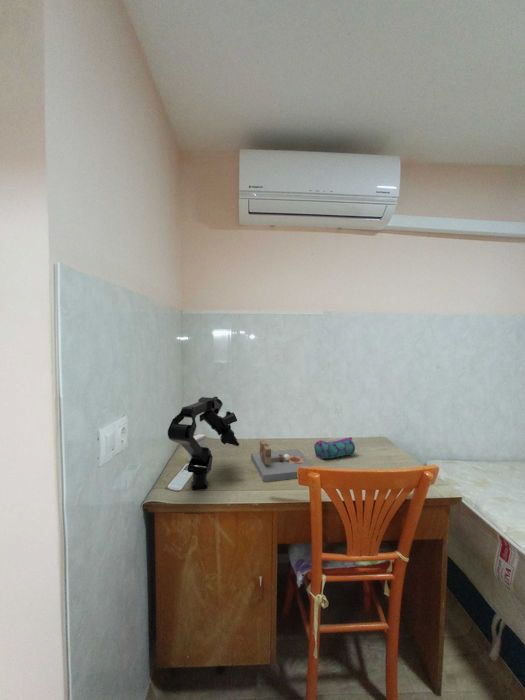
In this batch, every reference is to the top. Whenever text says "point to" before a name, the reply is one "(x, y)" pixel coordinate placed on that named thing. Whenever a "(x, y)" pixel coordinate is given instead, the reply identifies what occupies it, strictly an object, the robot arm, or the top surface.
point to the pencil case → (334, 448)
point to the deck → (280, 465)
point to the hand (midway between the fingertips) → (237, 442)
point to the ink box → (200, 442)
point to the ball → (286, 457)
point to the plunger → (268, 454)
